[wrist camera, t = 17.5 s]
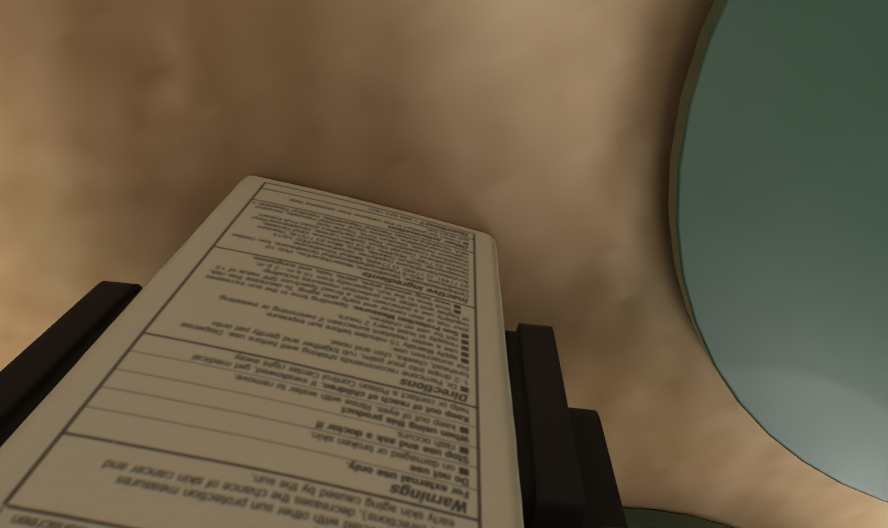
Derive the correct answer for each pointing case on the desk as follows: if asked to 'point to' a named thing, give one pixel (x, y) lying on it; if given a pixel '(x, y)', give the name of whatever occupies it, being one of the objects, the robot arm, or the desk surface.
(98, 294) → the robot arm
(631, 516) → the tin
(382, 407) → the white cardboard carton
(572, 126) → the desk surface
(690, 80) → the tin lid
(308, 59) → the desk surface
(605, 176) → the desk surface
